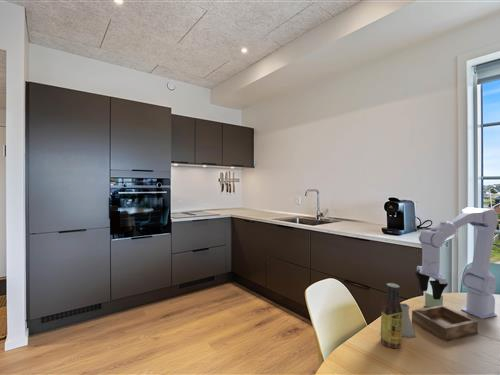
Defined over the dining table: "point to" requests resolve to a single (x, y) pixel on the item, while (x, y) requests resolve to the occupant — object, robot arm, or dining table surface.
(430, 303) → the green block
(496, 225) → the robot arm
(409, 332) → the flask
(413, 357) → the dining table surface
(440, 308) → the walnut crate
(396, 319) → the sauce bottle
